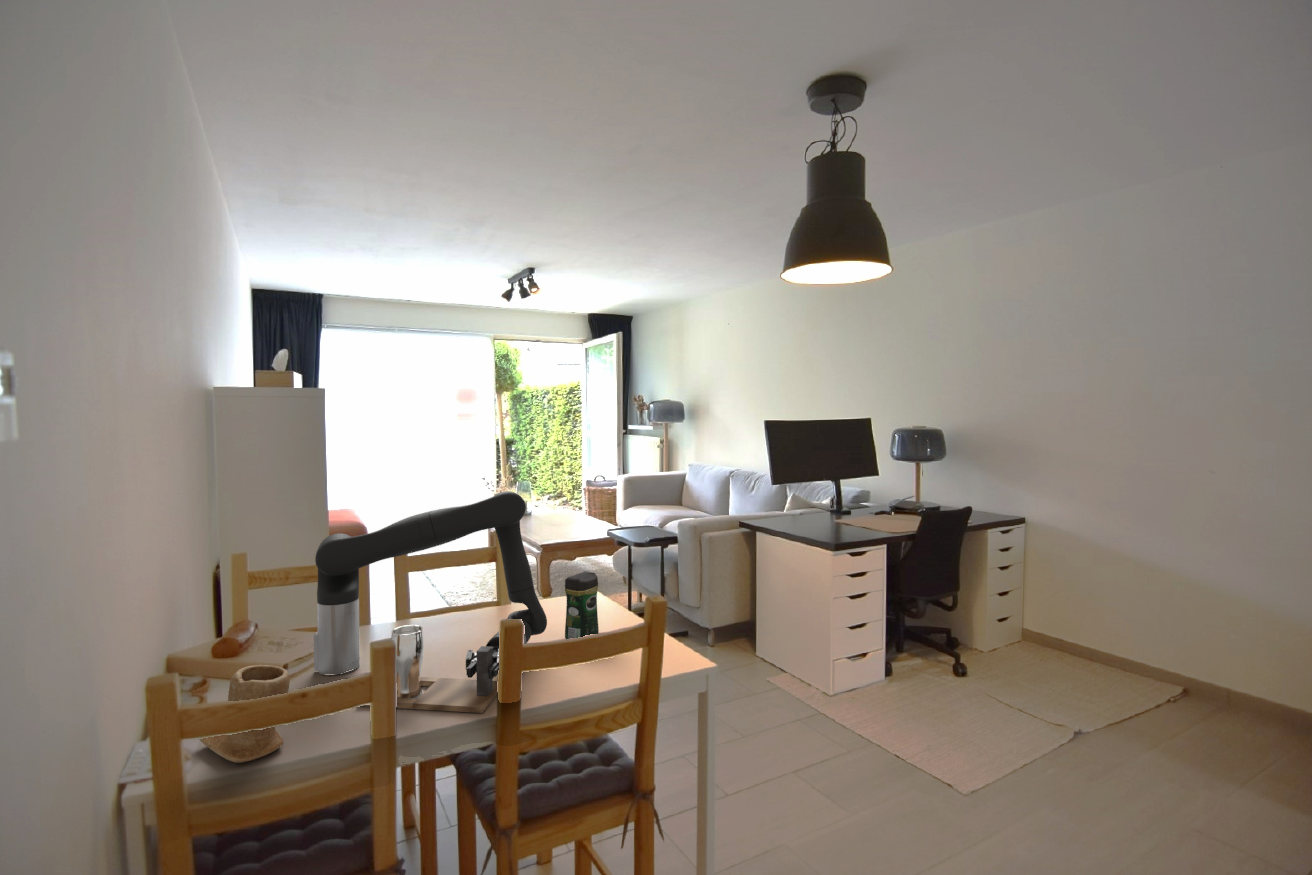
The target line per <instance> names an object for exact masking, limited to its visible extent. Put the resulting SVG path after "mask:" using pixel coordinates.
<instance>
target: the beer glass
mask: <svg viewBox="0 0 1312 875" xmlns="http://www.w3.org/2000/svg"><path fill="white" fill-rule="evenodd" d="M391 639H392V640H394V641H395V643H396V683H397V698H407V699H418V698H419V697H420V696H421V695H422V694H423V692H422V691H423V690H422V686H421V684H420V677H421V672H422V666H423V665H422V664H423V661H424V660H423V659H424V654H425V652H424V651H425V643H424V642H425V641H424V640H425V637H424V628H423V627H422V626H421V625H417V624H409V625H408V624H407V625H401V626H398V627H395V628H393V629H392V630H391V638H390V640H391Z"/></svg>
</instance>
